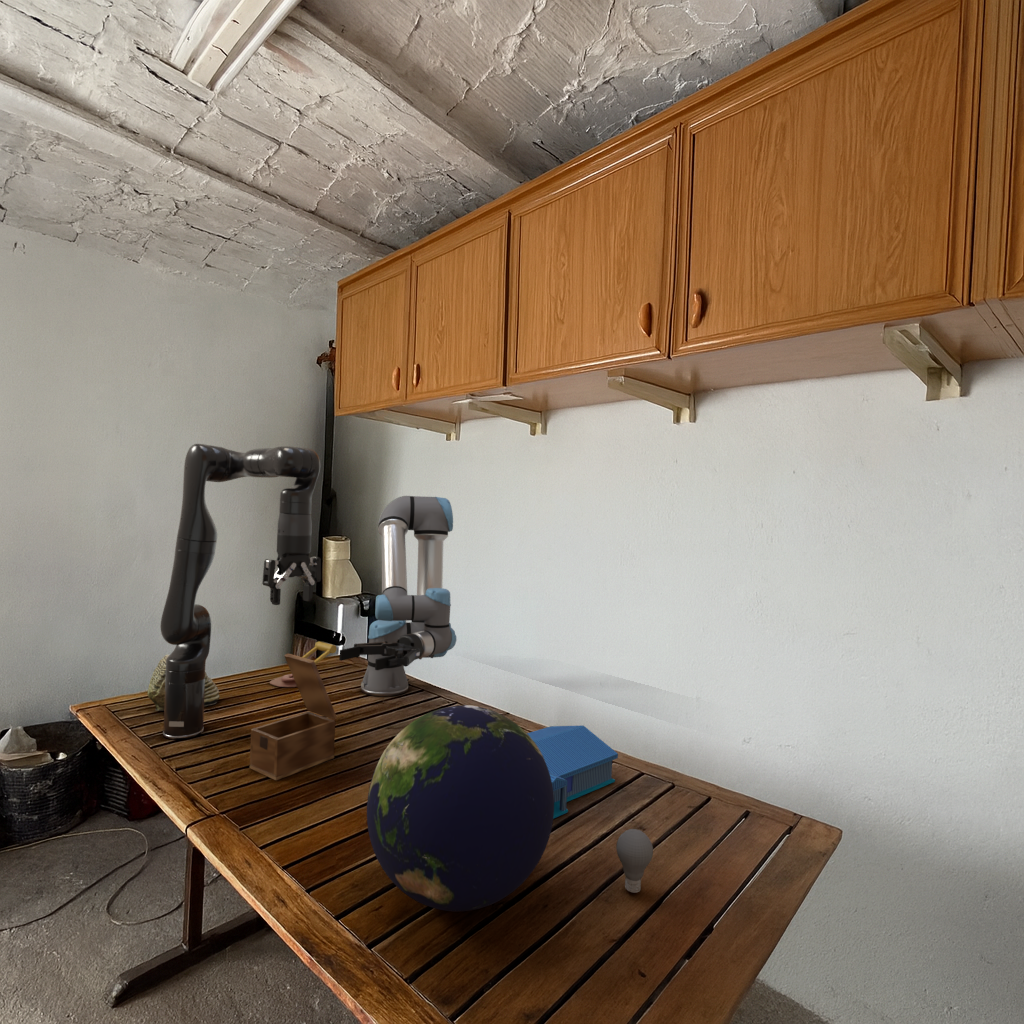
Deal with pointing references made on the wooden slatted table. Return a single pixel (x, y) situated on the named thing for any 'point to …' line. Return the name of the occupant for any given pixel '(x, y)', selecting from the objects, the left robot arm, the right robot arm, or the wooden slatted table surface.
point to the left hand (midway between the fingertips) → (291, 602)
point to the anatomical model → (284, 681)
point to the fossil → (158, 687)
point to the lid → (312, 680)
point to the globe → (460, 808)
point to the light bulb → (634, 857)
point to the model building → (574, 762)
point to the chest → (291, 745)
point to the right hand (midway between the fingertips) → (357, 660)
